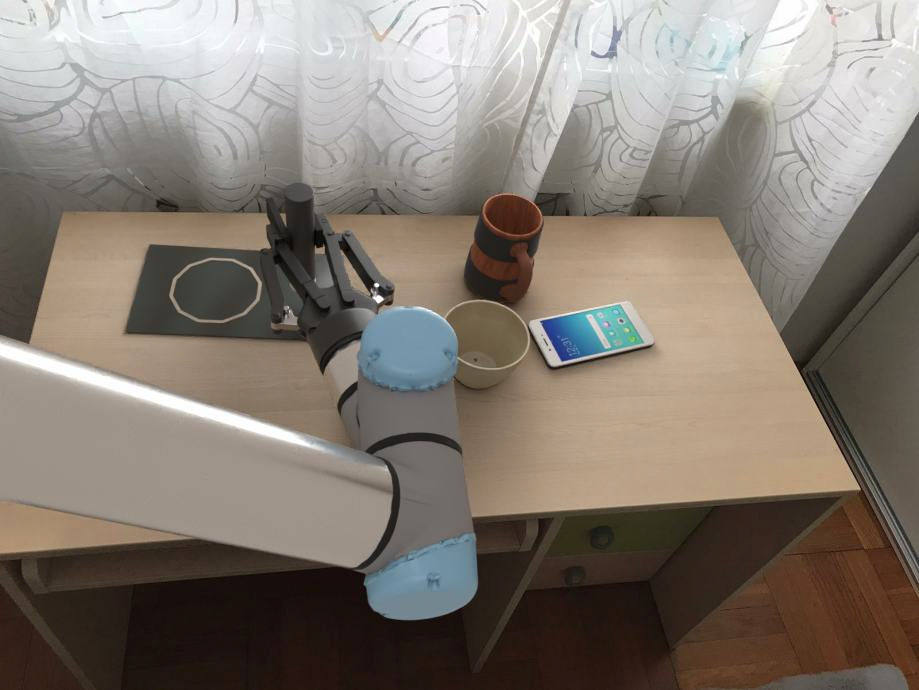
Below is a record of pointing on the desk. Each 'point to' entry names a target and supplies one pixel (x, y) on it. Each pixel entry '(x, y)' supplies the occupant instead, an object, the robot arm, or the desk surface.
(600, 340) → the smartphone
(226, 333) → the board
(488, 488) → the desk surface
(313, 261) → the cylinder
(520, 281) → the mug
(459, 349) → the flower pot
